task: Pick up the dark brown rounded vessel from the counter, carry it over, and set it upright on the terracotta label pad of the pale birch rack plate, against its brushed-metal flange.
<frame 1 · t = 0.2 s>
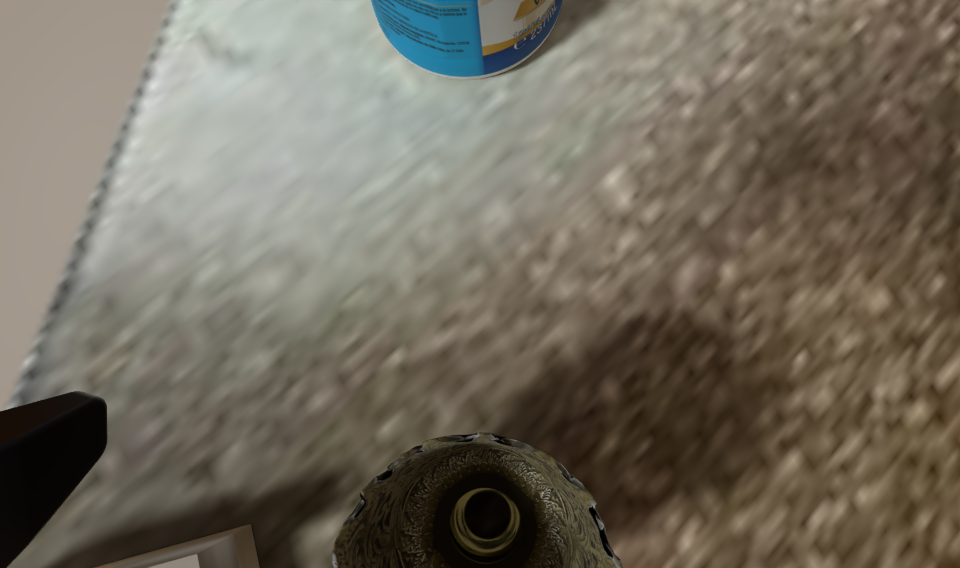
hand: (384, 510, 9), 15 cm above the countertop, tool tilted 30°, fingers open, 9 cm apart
dark brown rounded vessel: (487, 513, 23), on the countertop
beverage bottle: (469, 2, 26), on the countertop
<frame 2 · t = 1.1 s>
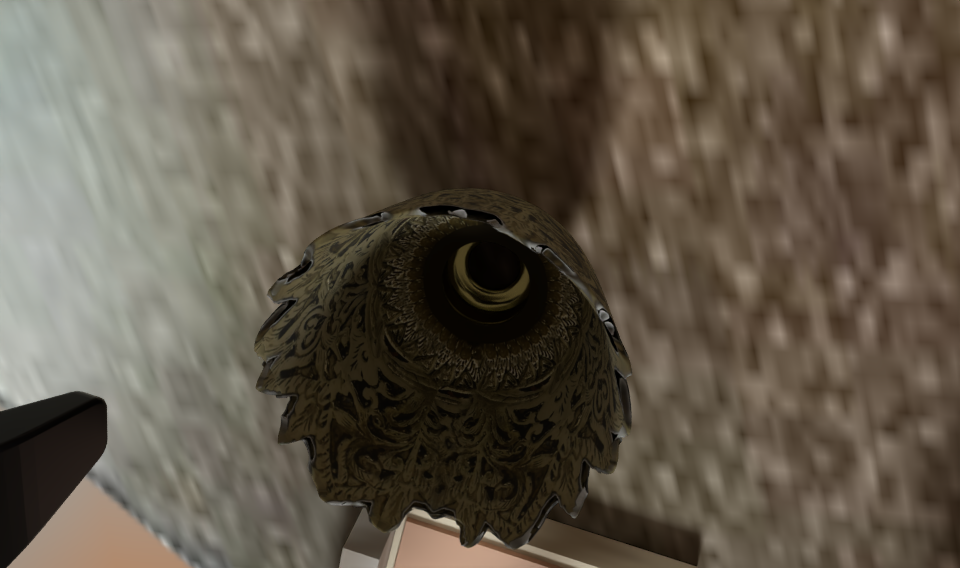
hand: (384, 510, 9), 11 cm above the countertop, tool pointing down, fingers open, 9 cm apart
dark brown rounded vessel: (495, 262, 19), on the countertop
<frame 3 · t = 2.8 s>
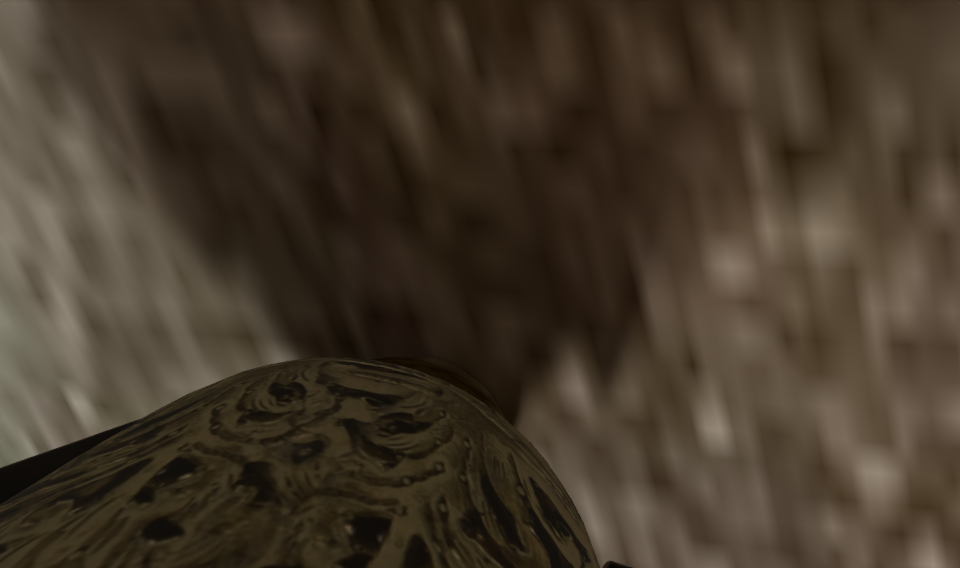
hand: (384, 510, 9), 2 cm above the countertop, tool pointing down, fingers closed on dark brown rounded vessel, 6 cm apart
dark brown rounded vessel: (422, 422, 11), on the countertop, touching gripper
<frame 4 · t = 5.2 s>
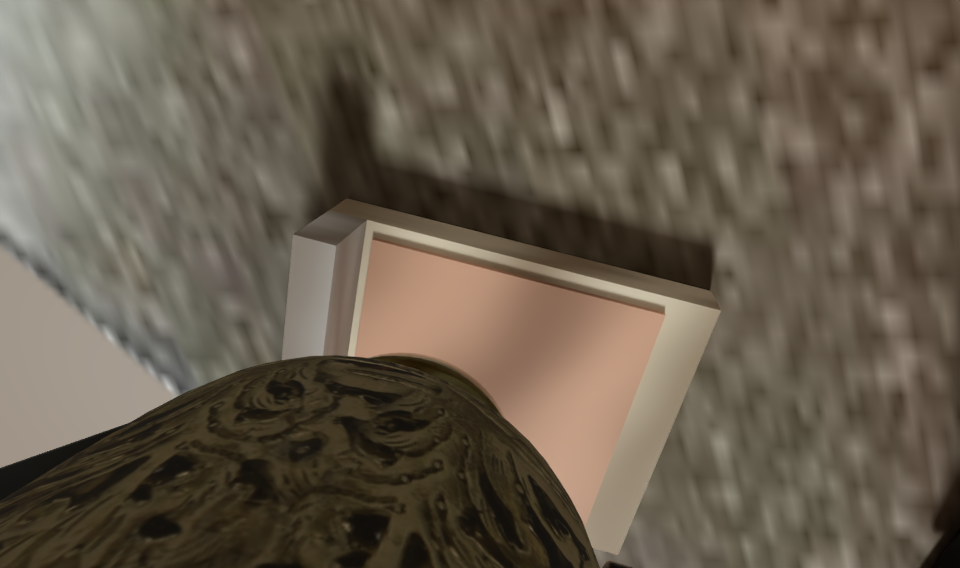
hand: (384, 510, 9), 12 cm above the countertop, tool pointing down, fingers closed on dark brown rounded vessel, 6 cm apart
dark brown rounded vessel: (421, 421, 11), point 9 cm above the countertop, touching gripper
rack plate: (491, 373, 21), on the countertop
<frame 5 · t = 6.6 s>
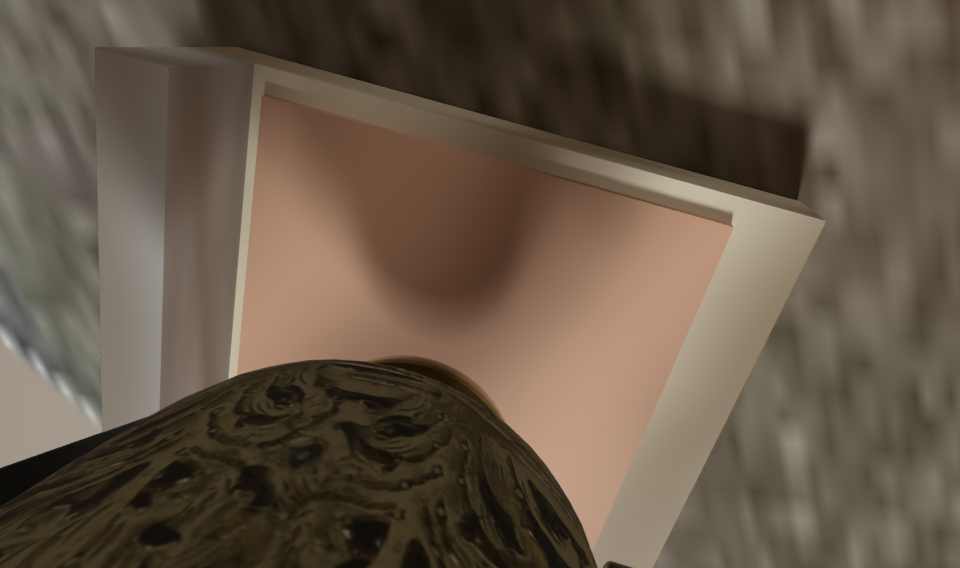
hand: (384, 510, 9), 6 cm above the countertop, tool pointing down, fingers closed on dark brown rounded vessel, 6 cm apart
dark brown rounded vessel: (421, 423, 11), point 4 cm above the countertop, touching gripper
rack plate: (456, 329, 14), on the countertop
when the fingers open (5 cm above the countertop, at t = 7.8 s): dark brown rounded vessel stays where it is, resting on rack plate.
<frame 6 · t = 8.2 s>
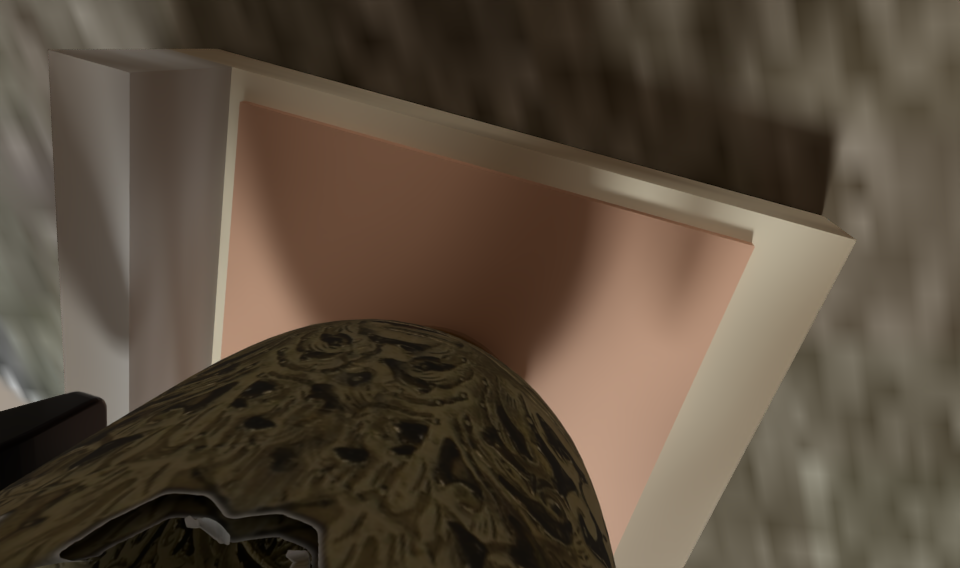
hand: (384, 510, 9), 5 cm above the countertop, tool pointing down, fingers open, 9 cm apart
dark brown rounded vessel: (439, 389, 12), point 2 cm above the countertop, touching rack plate
rack plate: (453, 351, 13), on the countertop
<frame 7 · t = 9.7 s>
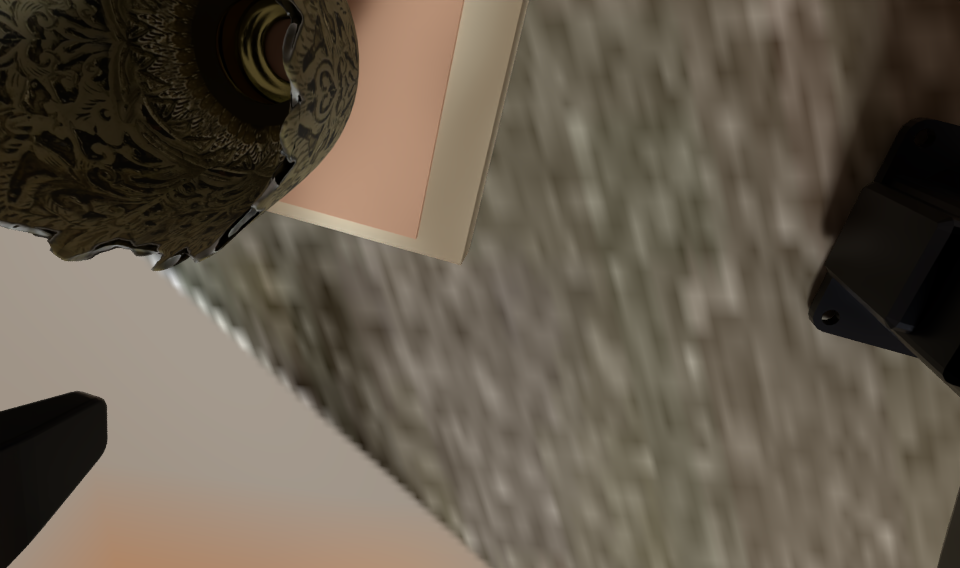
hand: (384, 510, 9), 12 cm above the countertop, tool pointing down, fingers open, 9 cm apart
dark brown rounded vessel: (296, 51, 17), point 2 cm above the countertop, touching rack plate
rack plate: (316, 48, 18), on the countertop
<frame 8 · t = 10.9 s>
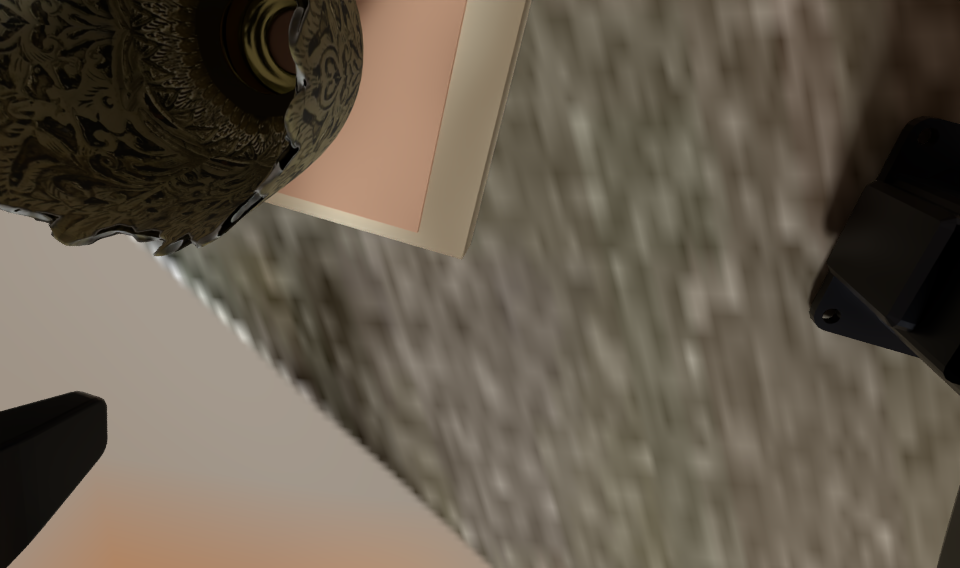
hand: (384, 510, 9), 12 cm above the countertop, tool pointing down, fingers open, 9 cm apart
dark brown rounded vessel: (299, 43, 17), point 2 cm above the countertop, touching rack plate
rack plate: (320, 40, 18), on the countertop
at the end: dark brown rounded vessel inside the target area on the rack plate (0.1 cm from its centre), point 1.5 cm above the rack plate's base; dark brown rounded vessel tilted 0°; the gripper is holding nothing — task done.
